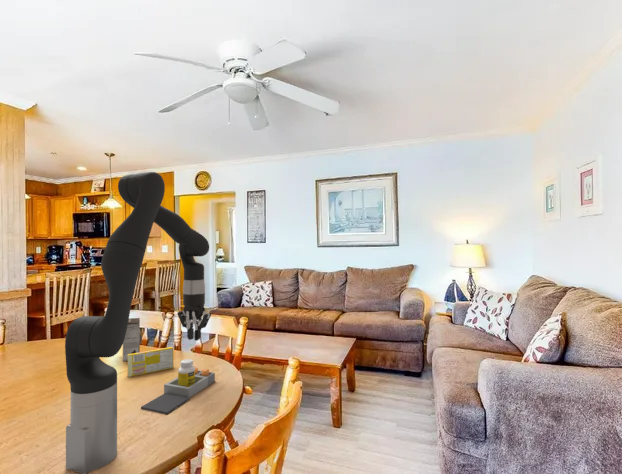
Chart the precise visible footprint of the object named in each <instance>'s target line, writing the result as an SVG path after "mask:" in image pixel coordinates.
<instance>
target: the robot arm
mask: <svg viewBox="0 0 622 474" xmlns="http://www.w3.org/2000/svg"><path fill="white" fill-rule="evenodd" d="M117 189H118V193H119V195H120V197H121V199H122V200H123V201H124V202H125V203H126V204H128V206H130V207H132V208H133V209H132V211H131V212H130V214H128V216H127V217H126V218H125V220H123V222H122V223H121V224H120V225H119V226H117V228H116V229H115V230H114V232H112V233H111V235H110V236H109V238H108V240H107V242H106V245H105V249H104V252H103V255H102V258H101V263H100V265H101V270H102V273H103V277H104V280H105V282H106V286H107V289H108V294H109V295H108V303H107V308H106V312H105V313H104V315H103V316H102V315H101V316H97V315H92V316H90V315H87V316H86V315H84V316H79V317H77V318H75V319H74V320H73V321H72V322H71V323H70V325H69V327H68V328H67V330H66V334H65V340H64V344H65V345H64V351H65V352H64V354H65V366H66V368H65V369H66V377H67V381H68V382H69V385H70V387H69V388H70V421H69V422H70V423H69V424H67V425H66V426H65V469H66V470H71V471H73V472H77V473H78V474H79V473H80V474H88V473H89V472H92V471H95V470H98V469H100V468H103V467H105V466H107V465H109V463H111V462H112V461H113V460H114V459H115V458H116V456H117V455H118V372H117V369H116V368H115V367H113V366H112V365H109V364H107V363H106V362H104V361H103V360H102V359H101V358H112V357H114V356H115V355H117V354H118V353H119V352H120V350H121V348H123V342H124V339H125V335H126V331H127V326H128V320H129V319H130V313H131V309H132V308H131V307H132V302H133V301H132V300H133V297H134V293H135V288H136V285H137V281H138V277H139V275H140V271H141V268H142V265H143V263H144V257H145V254H146V249H147V246H148V242H149V239H150V234H151V231H152V228H153V225H154V223H155V224H156V225H157V226H158V227H160V228H161V229H162V230H163V231H164V232H165V233H166V234H167V235H168V236H169V237H170V238H171V240H173V241H174V242H175V243H177V244H179V245H178V252H179V256H180V259H181V263H182V267H183V285H182V303H183V304H182V305H183V308H182V309H183V310H180V311H178V312H177V316H178V319H179V322H180V325H181V326H182V328H185V329H186V331H187V332H186V335H187V336H186V337H187V340H188V341H191V340H193V339H194V341H199V340H200V339H201V338H202V329H203V328H206V327H207V325H208V323H209V320H210V319H211V316H212V313H211V312H207V311H206V308H205V303H206V301H205V300H206V286H205V285H206V284H205V266H204V264H203V263H200V262H197V261H196V260H195V257H204V256H206V255H207V254H208V253H209V252H210V243H209V241H208V240H207V238H206V237H205V236H204V235H202V234H201V233H200V232H198V231H196V229H195V230H194V229H193V228H192V227H191V226H190V225H189V224H188V223H187V222H186V221H185V219H184V218H183V217H182V216H180V215H179V214H178V213H176V212H174V211H172V210H171V209H168V208H167V207H165V206H163V205H162V202H163V200H164V196H165V191H166V187H165V181H164V179H163V177H162V175H161V174H159V173H158V172H155V171H142V172H134V173H130V174H125V175H123V176H122V177H120V179H119V181H118V185H117Z"/></svg>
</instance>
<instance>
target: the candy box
mask: <svg viewBox="0 0 622 474" xmlns="http://www.w3.org/2000/svg"><path fill="white" fill-rule="evenodd" d="M127 358H128V361H127V378H131V377H135V376H140V375H146V374H149V373H157V372H160V371H165V370H170V369H174V347H173V346H169V347H164V348H158V349H151V350H145V351H140V352H139V353H133V354H127Z"/></svg>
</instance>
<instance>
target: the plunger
mask: <svg viewBox="0 0 622 474" xmlns="http://www.w3.org/2000/svg"><path fill="white" fill-rule="evenodd" d="M201 371H202V376H208V375H209V372H210V369H209V368H204V369H201Z"/></svg>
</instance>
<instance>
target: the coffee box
mask: <svg viewBox="0 0 622 474" xmlns="http://www.w3.org/2000/svg"><path fill="white" fill-rule="evenodd" d="M140 323H141V322H140V317H136V318H130V317H129V320H128V326H127V331H126V335H125V339H124V342H123V345H122V361H123V362H128V358H127V354H133V353H139V352H141V351H140V350H141V349H140V347H141V345H140V343H141V342H140V341H141V339H140V333H141V332H140V329H141V327H140Z"/></svg>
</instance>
